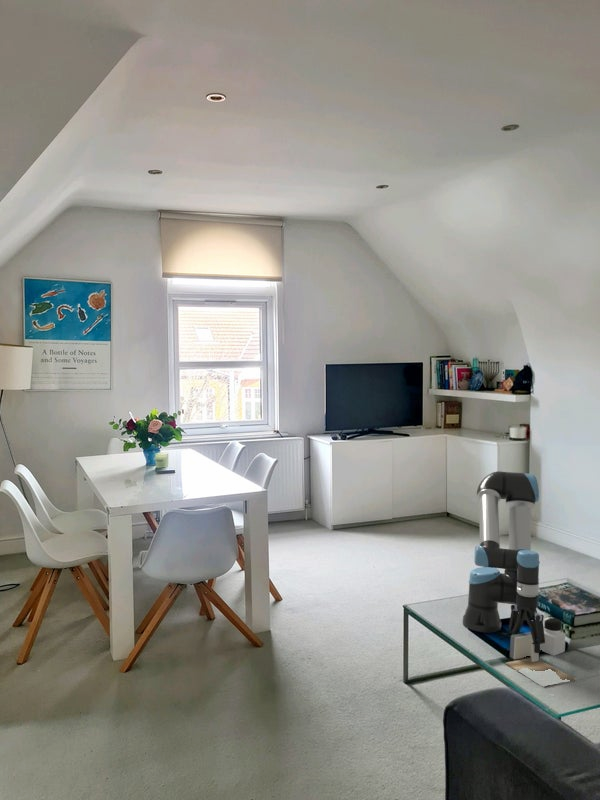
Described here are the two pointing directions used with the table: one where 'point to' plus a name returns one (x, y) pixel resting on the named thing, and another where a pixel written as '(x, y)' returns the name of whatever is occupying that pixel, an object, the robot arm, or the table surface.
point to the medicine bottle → (553, 637)
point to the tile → (521, 645)
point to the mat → (536, 667)
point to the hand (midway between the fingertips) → (525, 656)
